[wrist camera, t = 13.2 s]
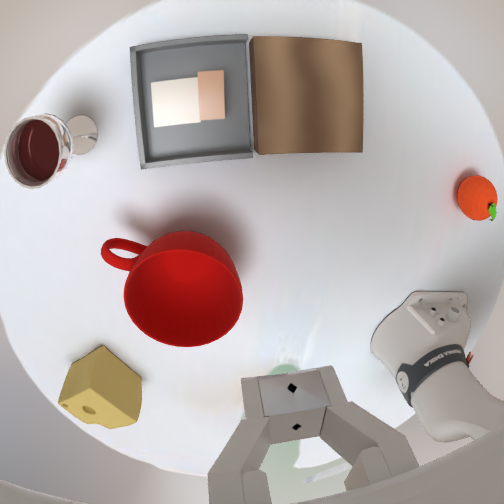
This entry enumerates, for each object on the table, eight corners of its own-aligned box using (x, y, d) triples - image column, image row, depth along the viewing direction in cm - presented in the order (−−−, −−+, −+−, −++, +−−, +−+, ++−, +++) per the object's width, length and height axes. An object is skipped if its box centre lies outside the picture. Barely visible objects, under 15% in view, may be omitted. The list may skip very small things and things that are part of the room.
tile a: (150, 82, 29) (154, 83, 31) (154, 127, 31) (158, 125, 33) (198, 77, 29) (199, 78, 31) (200, 122, 31) (201, 120, 34)
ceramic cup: (140, 178, 36) (119, 205, 27) (255, 244, 42) (267, 286, 33) (100, 259, 40) (76, 301, 32) (204, 312, 46) (205, 361, 37)
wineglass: (92, 169, 35) (50, 200, 24) (50, 150, 33) (-3, 174, 22) (113, 119, 32) (72, 129, 22) (67, 100, 30) (15, 106, 20)
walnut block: (347, 47, 31) (361, 43, 28) (348, 146, 37) (362, 152, 34) (249, 42, 30) (253, 36, 27) (254, 149, 36) (258, 154, 33)
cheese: (109, 394, 53) (100, 435, 44) (68, 361, 48) (53, 402, 40) (146, 378, 52) (139, 423, 43) (103, 340, 47) (88, 386, 38)
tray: (244, 39, 30) (247, 34, 28) (250, 153, 37) (253, 157, 34) (136, 50, 29) (129, 47, 26) (146, 163, 36) (140, 169, 33)
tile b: (223, 70, 27) (197, 71, 27) (225, 118, 29) (199, 120, 29) (222, 74, 31) (199, 75, 31) (223, 116, 34) (201, 117, 34)
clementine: (484, 196, 43) (511, 211, 37) (460, 223, 45) (487, 241, 38) (468, 161, 40) (498, 174, 34) (442, 189, 42) (472, 206, 35)
